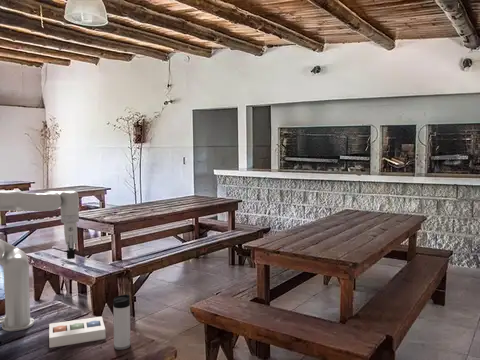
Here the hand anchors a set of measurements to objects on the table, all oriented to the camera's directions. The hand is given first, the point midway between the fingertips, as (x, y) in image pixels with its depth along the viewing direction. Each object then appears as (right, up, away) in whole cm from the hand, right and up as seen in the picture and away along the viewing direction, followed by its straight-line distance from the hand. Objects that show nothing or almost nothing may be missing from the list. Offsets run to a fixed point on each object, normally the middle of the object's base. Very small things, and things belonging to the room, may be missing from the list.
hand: (70, 258), depth 198 cm
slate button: (+15, -28, -15) cm, 35 cm away
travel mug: (+30, -30, -25) cm, 50 cm away
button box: (+9, -29, -17) cm, 35 cm away
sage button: (+9, -29, -17) cm, 35 cm away
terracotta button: (+3, -29, -20) cm, 35 cm away
